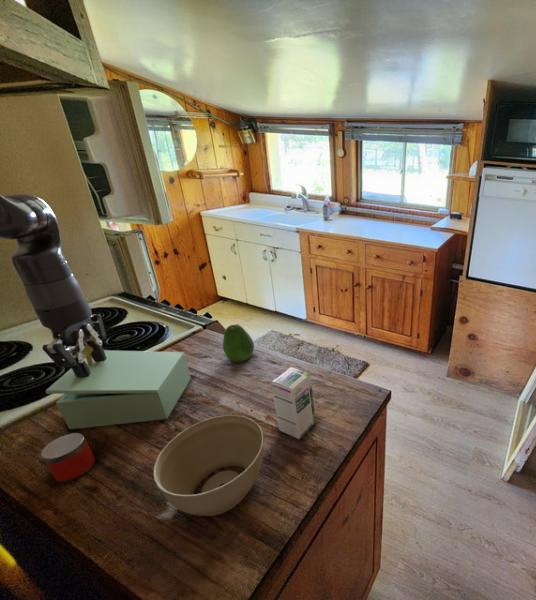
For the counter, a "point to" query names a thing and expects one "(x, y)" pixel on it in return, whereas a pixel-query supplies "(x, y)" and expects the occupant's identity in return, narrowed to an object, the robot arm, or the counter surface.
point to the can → (68, 457)
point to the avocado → (237, 343)
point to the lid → (120, 373)
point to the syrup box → (294, 402)
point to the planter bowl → (210, 464)
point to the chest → (124, 403)
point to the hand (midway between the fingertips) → (93, 368)
